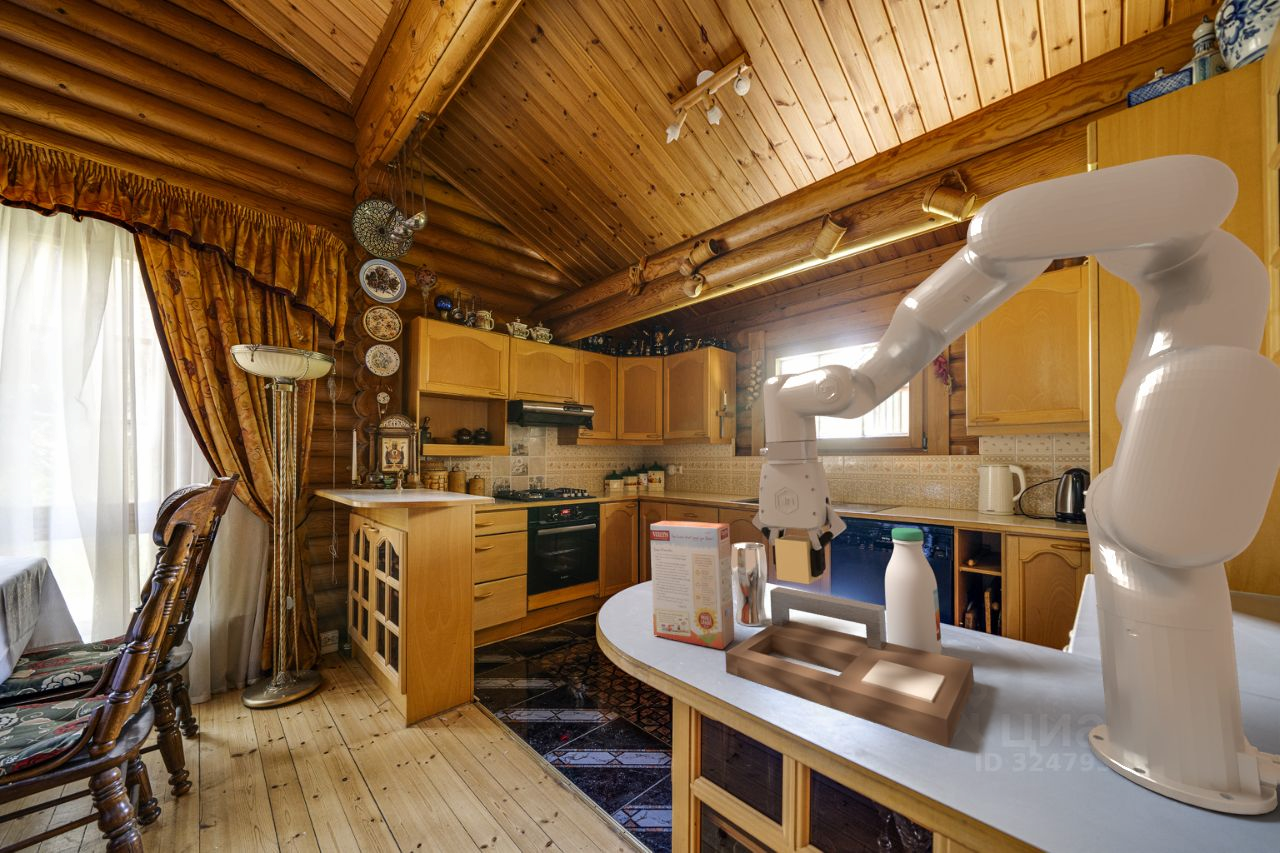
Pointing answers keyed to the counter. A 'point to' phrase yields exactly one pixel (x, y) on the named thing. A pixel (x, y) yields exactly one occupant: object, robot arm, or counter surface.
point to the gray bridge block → (830, 611)
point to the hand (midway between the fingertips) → (799, 571)
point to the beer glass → (749, 582)
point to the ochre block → (794, 559)
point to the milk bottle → (911, 594)
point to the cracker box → (692, 582)
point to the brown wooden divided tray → (860, 677)
